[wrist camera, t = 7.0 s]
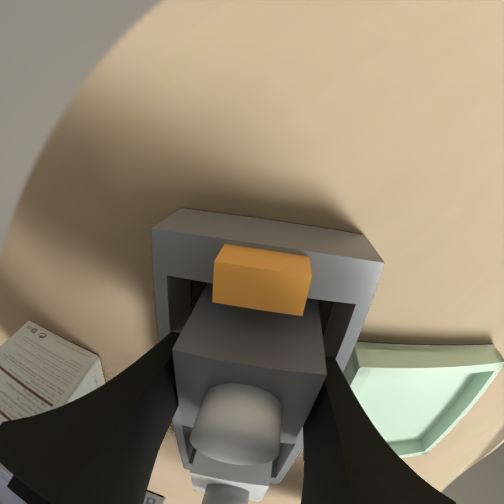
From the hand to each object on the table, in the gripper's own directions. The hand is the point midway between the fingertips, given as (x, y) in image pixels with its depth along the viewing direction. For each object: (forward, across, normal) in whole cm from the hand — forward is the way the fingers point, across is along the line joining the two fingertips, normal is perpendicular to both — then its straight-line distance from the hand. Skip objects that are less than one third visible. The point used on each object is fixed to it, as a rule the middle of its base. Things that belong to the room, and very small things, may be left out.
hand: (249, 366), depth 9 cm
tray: (+3, -10, +6) cm, 11 cm away
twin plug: (+3, 0, +9) cm, 9 cm away
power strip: (+3, 0, +4) cm, 5 cm away
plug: (+3, 0, 0) cm, 3 cm away
